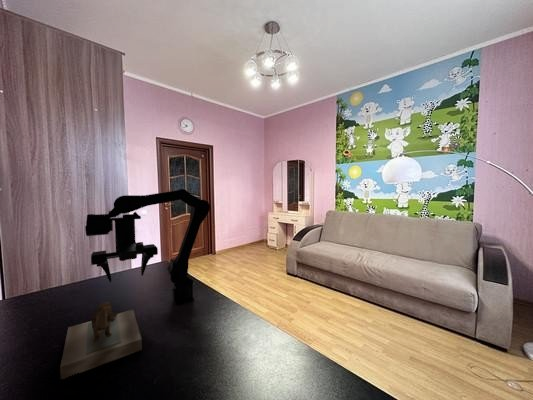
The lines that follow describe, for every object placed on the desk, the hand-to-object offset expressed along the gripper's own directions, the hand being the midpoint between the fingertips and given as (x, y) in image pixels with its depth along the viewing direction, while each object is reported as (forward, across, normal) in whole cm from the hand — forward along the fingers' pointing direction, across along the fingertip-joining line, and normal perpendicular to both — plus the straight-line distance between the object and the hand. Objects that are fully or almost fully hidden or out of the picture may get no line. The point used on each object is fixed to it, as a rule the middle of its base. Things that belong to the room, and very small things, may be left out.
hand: (126, 278), depth 77 cm
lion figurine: (+9, -6, -14) cm, 18 cm away
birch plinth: (+12, -7, -14) cm, 20 cm away
